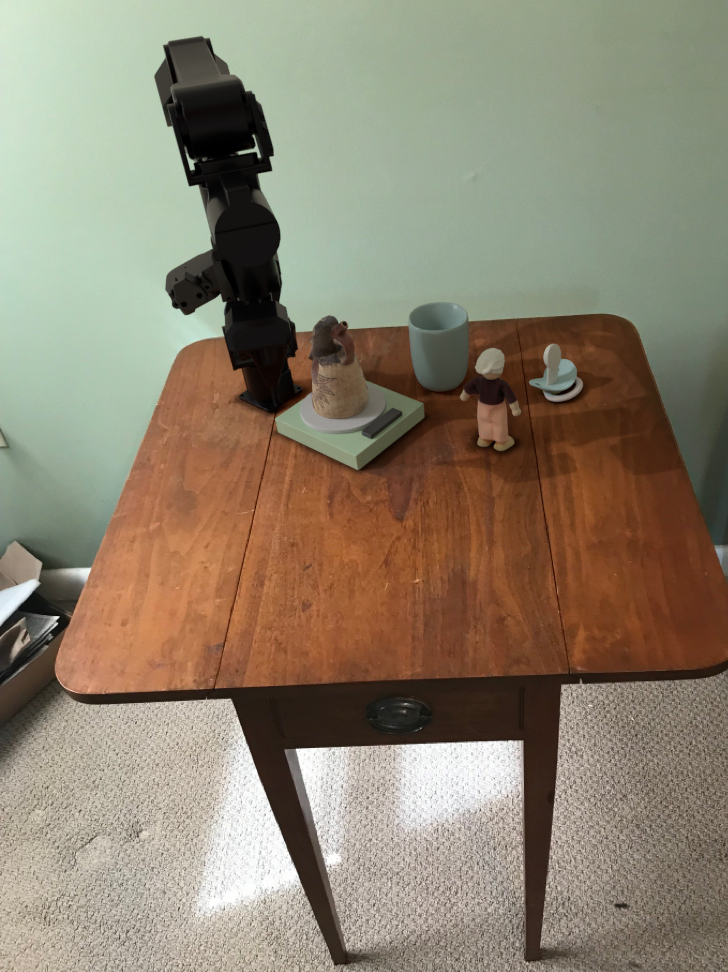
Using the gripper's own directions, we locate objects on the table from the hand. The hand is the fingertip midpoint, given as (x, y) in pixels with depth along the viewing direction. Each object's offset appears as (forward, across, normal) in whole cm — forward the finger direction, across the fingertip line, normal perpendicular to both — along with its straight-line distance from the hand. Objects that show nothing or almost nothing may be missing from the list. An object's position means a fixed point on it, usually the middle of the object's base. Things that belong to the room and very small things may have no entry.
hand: (270, 364), depth 87 cm
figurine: (+10, -5, +7) cm, 14 cm away
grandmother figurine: (+13, +4, +24) cm, 28 cm away
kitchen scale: (+13, -4, +8) cm, 16 cm away
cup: (+13, -10, +22) cm, 27 cm away
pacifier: (+13, -4, +36) cm, 38 cm away
